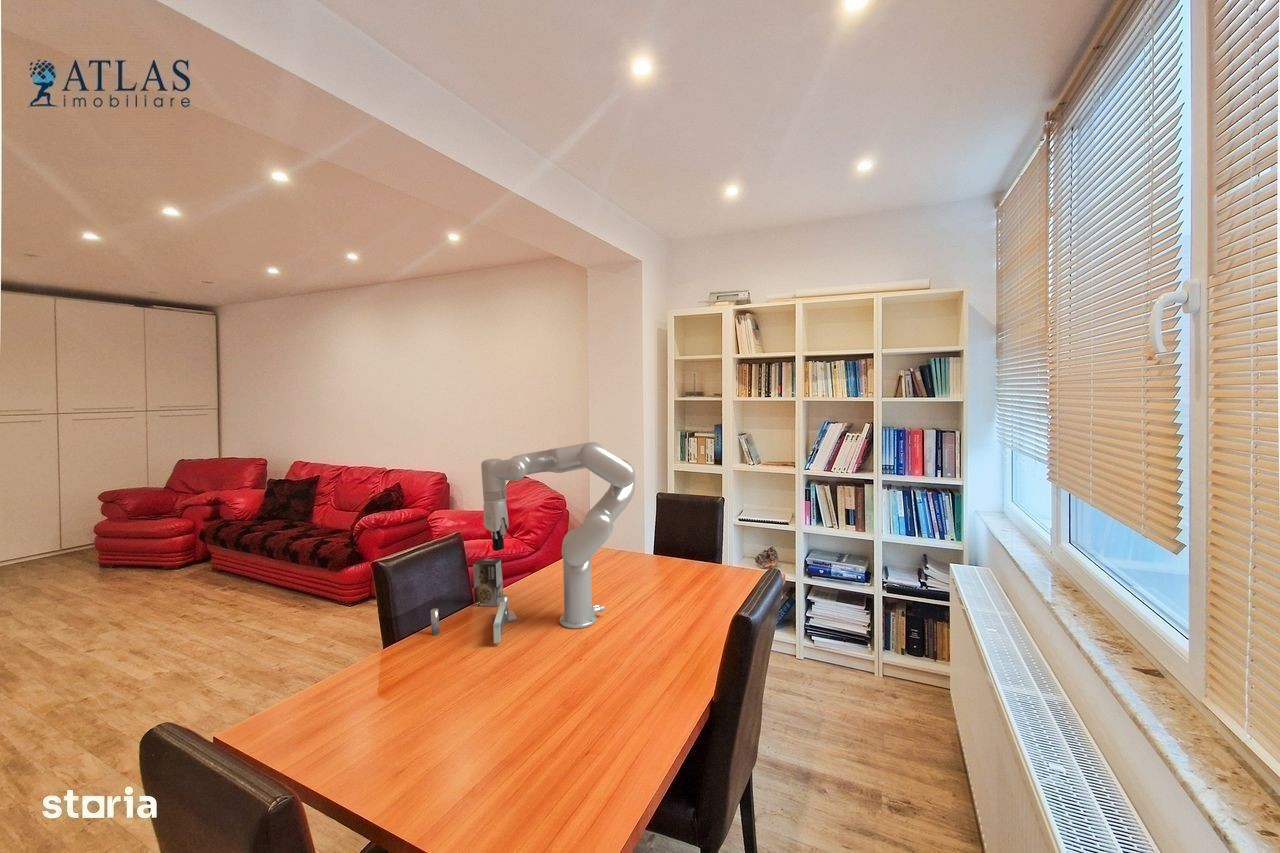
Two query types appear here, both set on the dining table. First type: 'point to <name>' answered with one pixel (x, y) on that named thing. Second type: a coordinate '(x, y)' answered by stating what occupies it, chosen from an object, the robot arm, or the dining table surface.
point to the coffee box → (488, 582)
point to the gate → (499, 622)
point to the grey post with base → (506, 610)
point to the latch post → (435, 621)
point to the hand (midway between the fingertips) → (498, 549)
